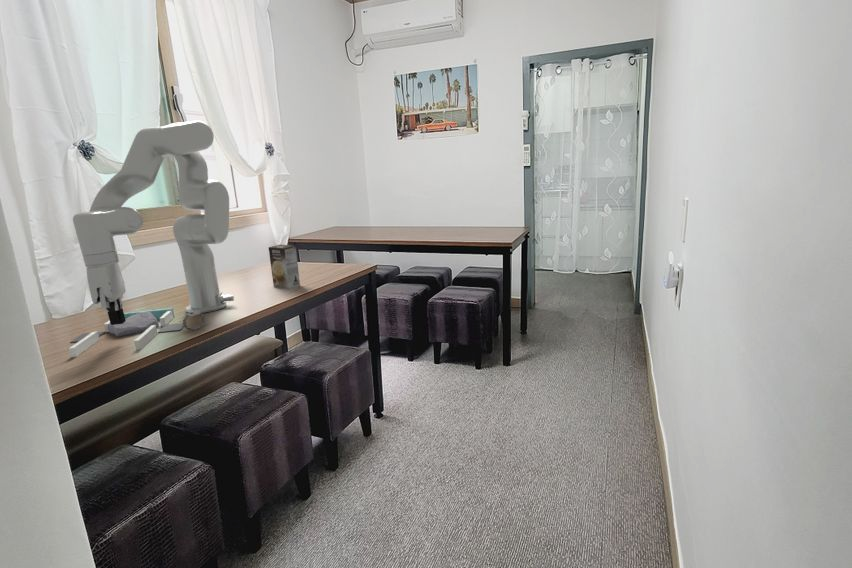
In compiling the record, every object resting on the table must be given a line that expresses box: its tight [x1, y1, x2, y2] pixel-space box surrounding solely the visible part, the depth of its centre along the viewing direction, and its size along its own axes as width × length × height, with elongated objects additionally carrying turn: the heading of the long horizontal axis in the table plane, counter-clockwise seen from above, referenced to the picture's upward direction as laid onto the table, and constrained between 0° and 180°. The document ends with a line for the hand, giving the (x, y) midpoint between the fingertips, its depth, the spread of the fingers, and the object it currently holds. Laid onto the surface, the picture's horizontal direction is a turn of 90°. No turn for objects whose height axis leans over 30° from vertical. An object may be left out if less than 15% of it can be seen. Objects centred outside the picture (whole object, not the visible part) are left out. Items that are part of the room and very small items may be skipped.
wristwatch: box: [182, 311, 206, 331], centre depth 137 cm, size 6×3×5 cm, turn 147°
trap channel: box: [68, 307, 188, 358], centre depth 135 cm, size 29×29×3 cm
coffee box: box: [267, 244, 301, 290], centre depth 182 cm, size 9×6×16 cm
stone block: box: [108, 312, 160, 337], centre depth 140 cm, size 12×5×10 cm
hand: (118, 323), depth 129 cm, fingers closed
